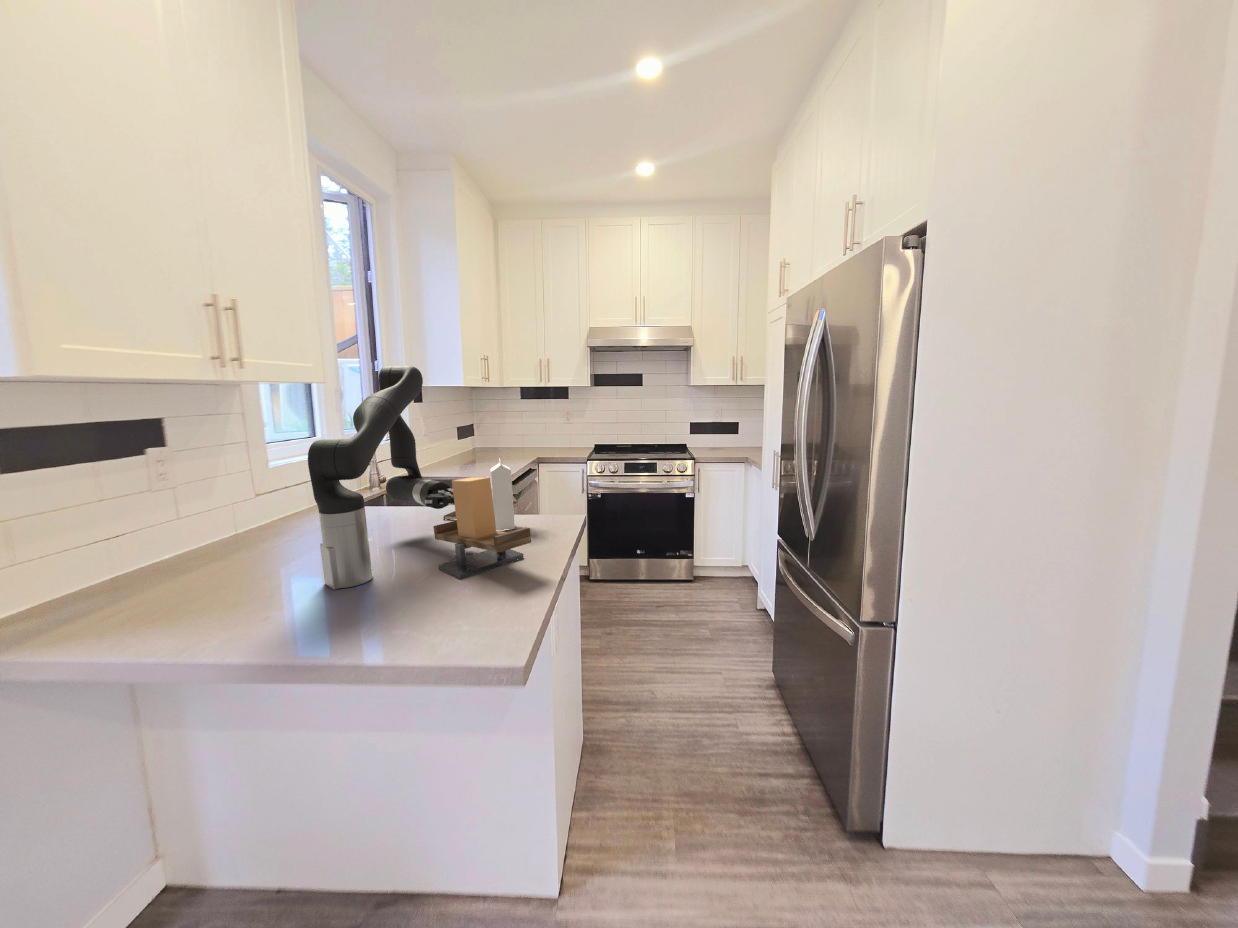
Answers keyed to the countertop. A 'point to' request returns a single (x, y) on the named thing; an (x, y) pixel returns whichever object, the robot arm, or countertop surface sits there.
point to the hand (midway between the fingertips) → (464, 501)
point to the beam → (483, 538)
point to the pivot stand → (477, 561)
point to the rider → (474, 507)
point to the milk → (502, 496)
